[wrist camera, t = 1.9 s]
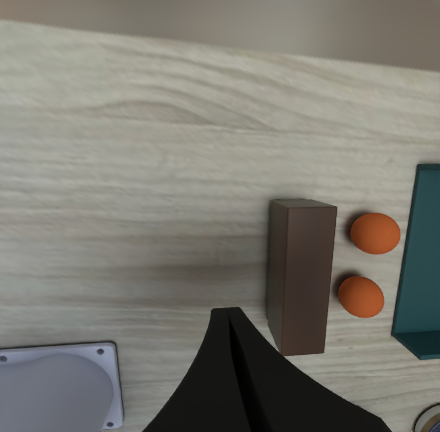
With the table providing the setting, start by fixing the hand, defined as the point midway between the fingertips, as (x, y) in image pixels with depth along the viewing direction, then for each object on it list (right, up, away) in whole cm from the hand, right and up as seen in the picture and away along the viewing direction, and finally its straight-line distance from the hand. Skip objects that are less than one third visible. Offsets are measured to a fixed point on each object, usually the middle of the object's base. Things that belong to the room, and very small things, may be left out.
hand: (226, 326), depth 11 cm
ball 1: (+11, +4, +6) cm, 13 cm away
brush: (+5, +2, +8) cm, 9 cm away
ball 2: (+10, -1, +7) cm, 13 cm away
